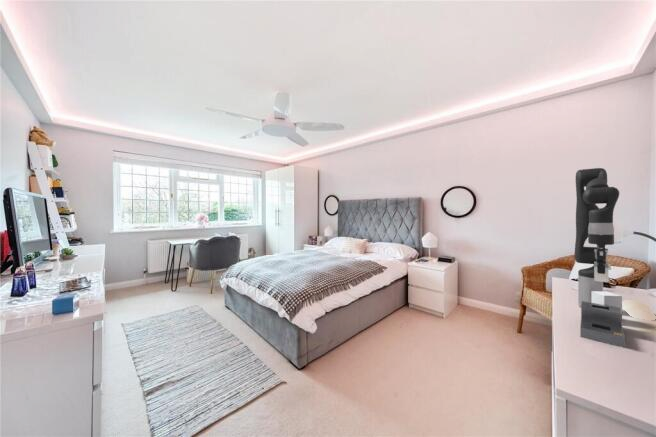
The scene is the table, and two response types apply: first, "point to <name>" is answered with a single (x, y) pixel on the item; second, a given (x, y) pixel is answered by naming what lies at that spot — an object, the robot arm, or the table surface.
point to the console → (602, 323)
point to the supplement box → (607, 299)
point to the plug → (601, 276)
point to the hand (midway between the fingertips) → (601, 272)
